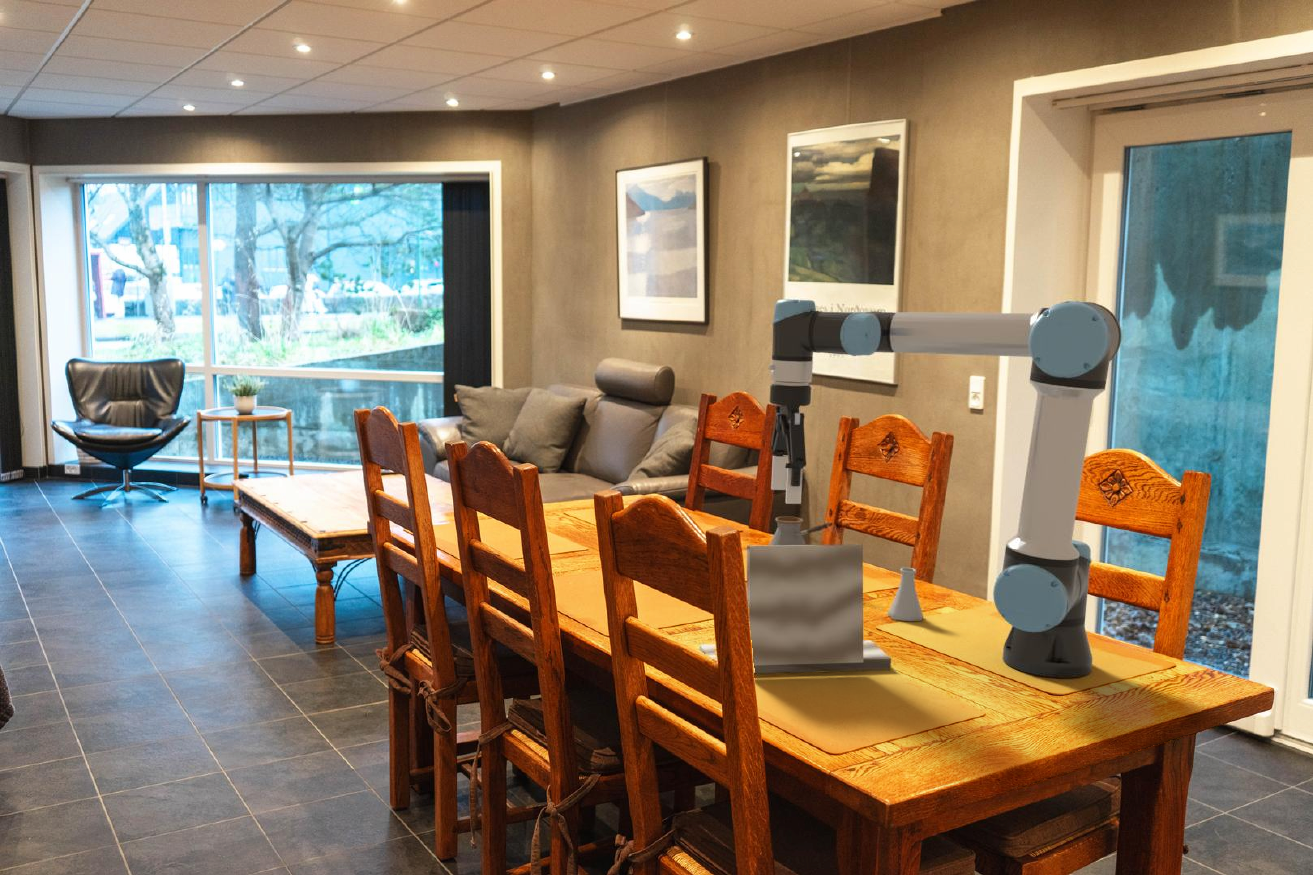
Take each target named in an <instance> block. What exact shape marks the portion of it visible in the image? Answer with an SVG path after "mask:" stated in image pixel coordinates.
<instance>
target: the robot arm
mask: <svg viewBox="0 0 1313 875" xmlns="http://www.w3.org/2000/svg"><path fill="white" fill-rule="evenodd" d="M1122 333H1123V332H1122V327H1121V325H1120V322H1119V320H1118V319H1117V316H1115V314H1114V313H1113V312H1112V311H1111V310H1109V309H1108V308H1107V307H1105V306H1104V305H1102V304H1099V303H1095V302H1093V301H1092V302H1090V301H1088V302H1087V301H1079V300H1073V301H1063V302H1062V301H1061V302H1060V303H1057V304H1054V305H1053V306H1051V307H1041V308H1040V309H1038V311H1036V312H1034V313H1026V312H1025V313H1017V312H1013V313H1012V312H1009V313H1005V312H1004V313H1003V312H1000V313H999V312H997V313H996V312H994V313H993V312H911V311H909V312H906V311H905V312H904V311H903V312H902V311H901V312H898V311H897V312H891V311H890V312H888V311H887V312H886V311H885V312H883V311H875V310H874V311H865V312H861V311H860V312H858V311H857V312H856V311H854V312H852V311H851V312H849V311H848V312H847V311H846V312H845V311H820V310H817V308H816V303H815V301H814V300H810V299H789V298H788V299H785V298H784V299H779V300H777V301H776V303H775V304H774V312H773V321H772V353H771V354H772V355H771V359H772V360H771V364H768V370H769V371H771V372H770V374H771V376H770V380H771V381H772V382H773V383H771V385H770V389H769V390H770V392H769V402H770V404H772V405H775V418H774V424H773V430H772V436H771V444H770V447H769V448H770V451H771V453H772V465H771V483H770V484H771V486H770V489H771V491H772V490H773V491H785V504H788V505H789V504H791V505H797V504H798V505H802V492H803V491H802V490H803V489H802V488H803V473H804V467H807V457H806V455H807V454H806V440H805V439H806V438H805V437H806V436H805V413H803V412H800V408H801V407H806V406H809V405H810V404H811V398H812V397H811V396H812V387H811V385H810V384H809V383H812V381H813V368H814V367H813V365H814V353H816V354H817V353H818V354H819V353H821V354H822V353H823V354H834V355H847V356H848V355H849V356H853V357H856V356H858V357H859V356H861V357H862V356H871V355H874V354H875V353H887V354H888V353H889V354H890V353H892V354H893V353H902V354H903V353H904V354H931V355H932V354H934V355H960V356H962V355H963V356H989V357H992V356H993V357H1019V358H1020V357H1021V358H1022V357H1025V358H1032V362H1031V366H1030V376H1029V383H1030V384H1031V386H1032V387H1033V388H1034V389H1035V391H1036V393H1037V394H1036V400H1035V408H1034V409H1035V410H1034V415H1033V423H1032V430H1031V437H1030V443H1029V451H1028V457H1027V465H1026V471H1025V479H1024V486H1023V491H1022V498H1021V506H1020V514H1019V520H1018V527H1017V533H1016V534H1015V535H1014V536H1013V537H1011V538H1010V539H1008V540H1007V541H1006V544H1005V550H1004V557H1003V564H1002V570H1001V573H1000V574H998V576H997V577H996V579H995V580H996V581H995V582H994V586H993V590H992V591H993V593H992V595H993V602H994V606H995V608H996V610H997V612H998V613H999V615H1001V617H1002V618H1003V619H1004V621H1005V622H1006V623H1008V624H1009V625H1011V629H1010V631H1009V633H1008V635H1007V637H1006V640H1005V643H1004V644H1003V649H1002V660H1003V662H1004V663H1005V664H1006V665H1008V666H1009V667H1011V668H1014V669H1016V670H1017V671H1021V672H1024V673H1028V674H1030V675H1036V676H1041V677H1046V676H1047V678H1055V677H1057V678H1058V679H1071V678H1080V677H1084V676H1088V675H1089V674H1090V673H1091V672H1092V669H1093V654H1092V651H1091V647H1090V644H1089V639H1088V635H1087V630H1086V623H1085V622H1086V617H1087V616H1086V614H1087V604H1088V603H1087V602H1088V593H1089V592H1088V591H1089V579H1090V567H1091V563H1092V558H1091V553H1092V552H1091V551H1092V550H1091V547H1090V545H1088V543H1086V542H1083V541H1078V540H1075V539H1073V536H1074V529H1075V522H1076V514H1077V508H1078V504H1079V496H1080V488H1081V483H1082V476H1083V470H1084V464H1085V456H1086V451H1087V443H1088V436H1089V431H1090V424H1091V416H1092V411H1093V403H1094V400H1095V398H1097V397H1098V396H1100V394H1102V393H1104V391H1106V386H1107V380H1108V375H1109V374H1108V373H1109V369H1110V368H1109V367H1110V366H1109V365H1110V362H1111V361H1112V360H1113V359H1114V358H1115V357H1116V355H1117V354H1118V352H1119V349H1120V348H1121V343H1122V339H1123V338H1122V337H1123V336H1122ZM1057 678H1056V679H1057Z"/></svg>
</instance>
